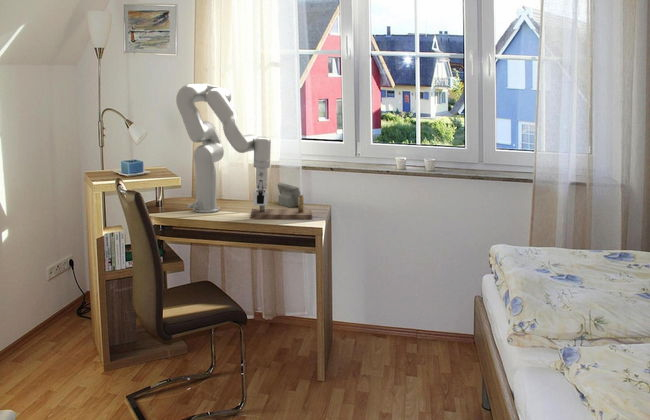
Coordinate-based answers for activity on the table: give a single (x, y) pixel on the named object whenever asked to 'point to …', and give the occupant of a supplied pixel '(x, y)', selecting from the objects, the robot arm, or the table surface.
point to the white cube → (264, 198)
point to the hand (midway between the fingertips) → (260, 201)
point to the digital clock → (288, 194)
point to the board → (283, 212)
